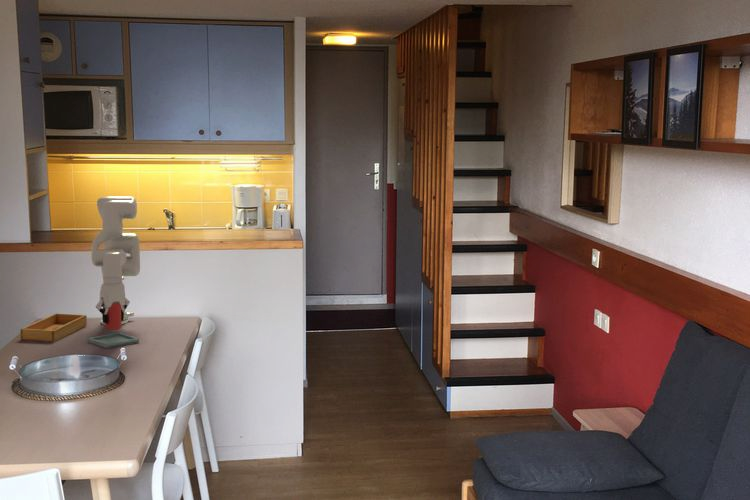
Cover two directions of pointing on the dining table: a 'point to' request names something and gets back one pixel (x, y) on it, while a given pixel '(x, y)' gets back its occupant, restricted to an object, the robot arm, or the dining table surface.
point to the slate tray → (113, 340)
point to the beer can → (114, 317)
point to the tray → (53, 327)
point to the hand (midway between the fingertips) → (113, 321)
